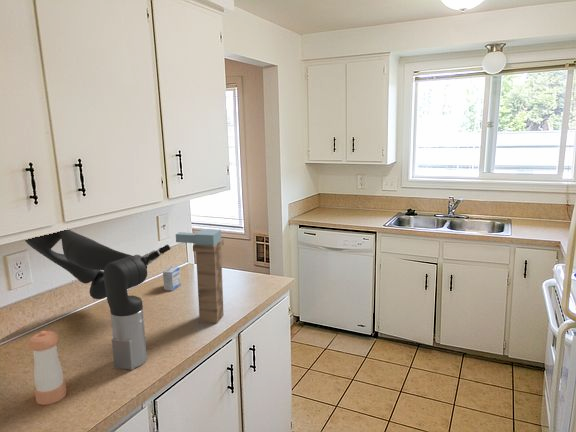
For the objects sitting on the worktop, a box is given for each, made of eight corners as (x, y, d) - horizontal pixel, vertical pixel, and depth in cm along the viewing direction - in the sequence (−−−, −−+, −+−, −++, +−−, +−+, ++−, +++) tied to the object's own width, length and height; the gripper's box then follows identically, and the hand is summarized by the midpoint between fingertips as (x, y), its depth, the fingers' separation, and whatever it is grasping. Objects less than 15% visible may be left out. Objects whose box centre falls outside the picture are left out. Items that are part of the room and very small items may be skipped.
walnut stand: (217, 325, 156) (214, 247, 150) (196, 323, 157) (192, 245, 151) (226, 313, 165) (223, 239, 159) (206, 312, 167) (203, 238, 161)
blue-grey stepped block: (213, 246, 151) (213, 235, 150) (173, 244, 153) (172, 233, 153) (221, 240, 158) (220, 229, 157) (182, 238, 161) (181, 228, 160)
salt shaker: (29, 401, 113) (19, 335, 109) (53, 386, 120) (44, 323, 116) (49, 407, 111) (40, 340, 107) (72, 391, 117) (64, 327, 113)
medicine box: (173, 291, 188) (172, 272, 187) (163, 290, 189) (162, 271, 187) (181, 284, 196) (179, 266, 194) (172, 284, 197) (170, 266, 195)
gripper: (115, 265, 156) (149, 246, 152) (136, 254, 170) (167, 236, 166) (126, 283, 157) (160, 264, 153) (146, 270, 171) (177, 252, 166)
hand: (163, 249), depth 159 cm, fingers open, 8 cm apart
